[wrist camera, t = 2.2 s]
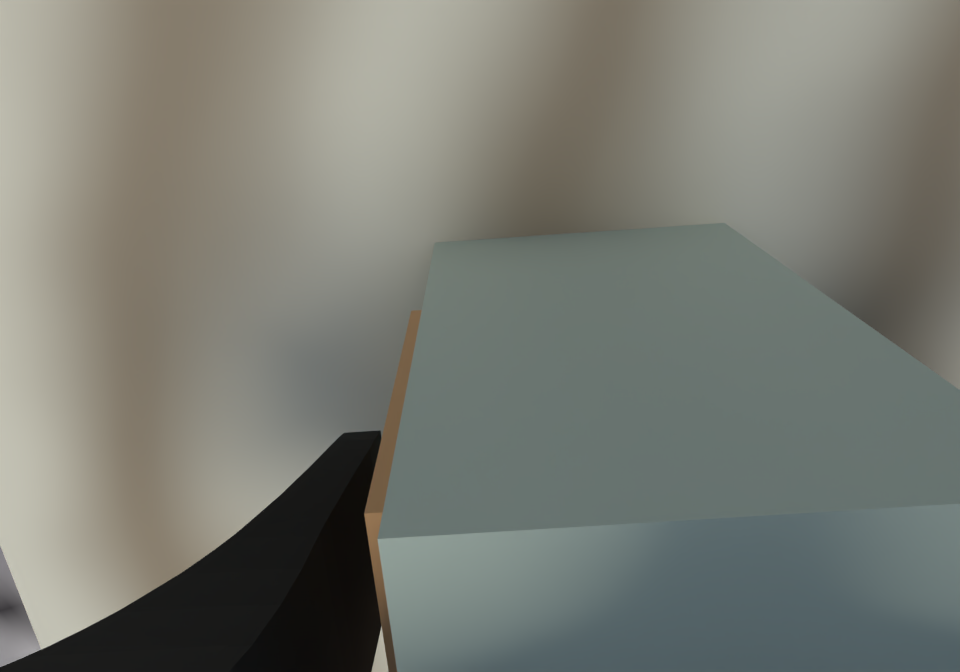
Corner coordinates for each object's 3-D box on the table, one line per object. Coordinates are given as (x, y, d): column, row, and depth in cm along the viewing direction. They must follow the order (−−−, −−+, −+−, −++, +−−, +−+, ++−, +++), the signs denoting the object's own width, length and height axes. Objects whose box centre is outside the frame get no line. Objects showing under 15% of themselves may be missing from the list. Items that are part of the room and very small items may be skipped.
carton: (724, 222, 12) (1108, 494, 5) (703, 552, 15) (931, 1051, 8) (417, 243, 12) (333, 542, 5) (451, 567, 15) (428, 1076, 8)
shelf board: (1361, -337, 11) (1494, -394, 9) (1066, 604, 17) (1117, 652, 16) (-215, -213, 11) (-313, -250, 10) (97, 660, 18) (65, 712, 16)
